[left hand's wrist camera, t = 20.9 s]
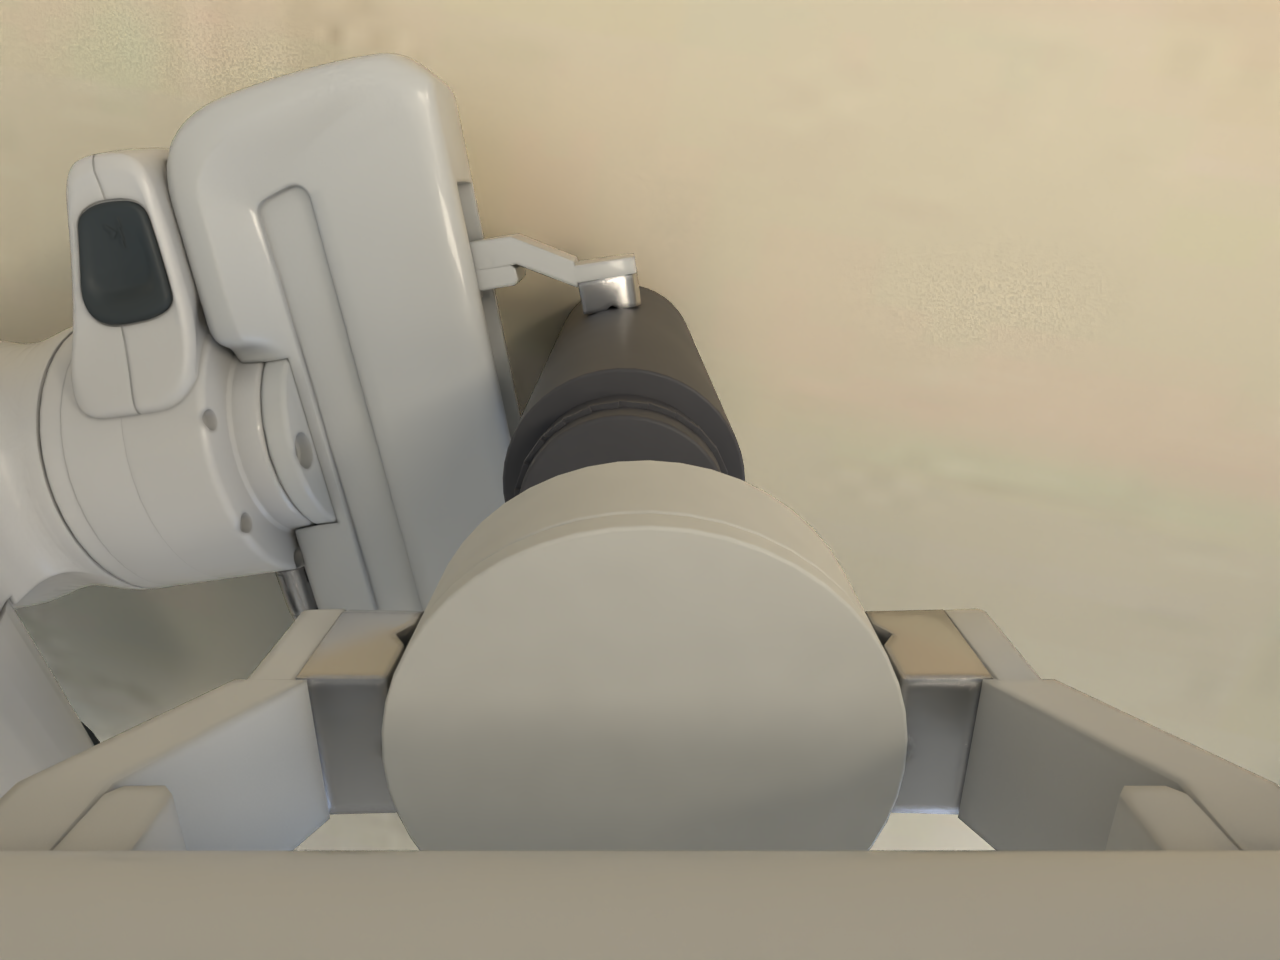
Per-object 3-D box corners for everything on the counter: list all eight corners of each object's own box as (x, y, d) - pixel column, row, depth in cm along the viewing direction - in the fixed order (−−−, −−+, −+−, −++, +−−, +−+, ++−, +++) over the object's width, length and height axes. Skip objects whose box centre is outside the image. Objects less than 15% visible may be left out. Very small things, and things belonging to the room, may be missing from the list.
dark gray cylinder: (583, 264, 29) (536, 347, 14) (711, 312, 30) (800, 441, 15) (541, 391, 31) (458, 590, 16) (663, 434, 32) (699, 664, 16)
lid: (908, 762, 11) (962, 879, 9) (533, 874, 11) (513, 1003, 10) (785, 389, 9) (822, 442, 7) (346, 551, 9) (280, 636, 8)
